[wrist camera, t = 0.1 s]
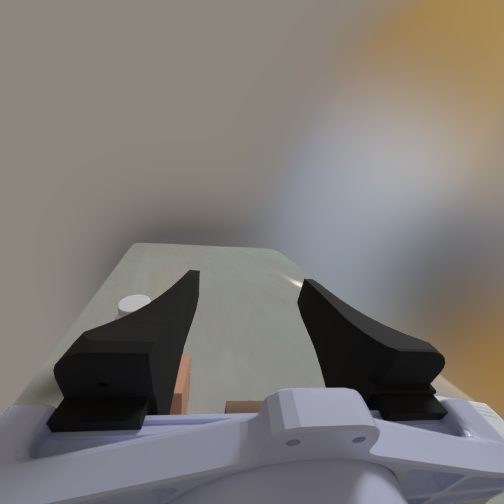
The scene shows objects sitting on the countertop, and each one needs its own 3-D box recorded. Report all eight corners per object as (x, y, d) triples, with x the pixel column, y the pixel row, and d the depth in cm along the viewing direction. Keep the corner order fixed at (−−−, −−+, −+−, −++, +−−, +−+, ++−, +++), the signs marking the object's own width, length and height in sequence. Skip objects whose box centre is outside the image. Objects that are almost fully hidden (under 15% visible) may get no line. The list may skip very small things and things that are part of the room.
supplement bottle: (112, 352, 30) (104, 300, 27) (148, 334, 34) (145, 287, 31) (127, 375, 27) (121, 320, 24) (164, 352, 31) (163, 303, 28)
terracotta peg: (180, 439, 22) (181, 393, 19) (139, 441, 21) (134, 393, 18) (188, 398, 26) (191, 354, 23) (154, 398, 25) (152, 353, 22)
